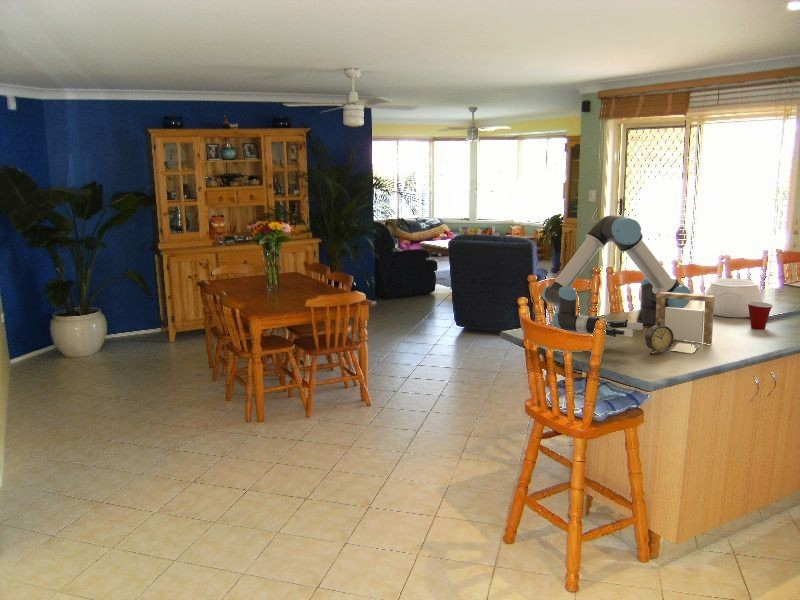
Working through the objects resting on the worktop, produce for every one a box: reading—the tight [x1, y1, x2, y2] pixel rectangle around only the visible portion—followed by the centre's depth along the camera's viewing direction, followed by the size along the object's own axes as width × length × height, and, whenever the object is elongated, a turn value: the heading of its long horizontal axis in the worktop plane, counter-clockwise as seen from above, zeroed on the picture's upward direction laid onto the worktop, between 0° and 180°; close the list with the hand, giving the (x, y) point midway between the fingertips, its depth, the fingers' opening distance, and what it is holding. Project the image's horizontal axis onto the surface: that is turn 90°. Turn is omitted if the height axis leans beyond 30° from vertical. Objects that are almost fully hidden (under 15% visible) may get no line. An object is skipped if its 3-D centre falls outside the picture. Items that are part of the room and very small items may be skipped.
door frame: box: [656, 291, 715, 345], centre depth 298 cm, size 23×4×21 cm, turn 54°
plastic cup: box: [747, 301, 774, 331], centre depth 316 cm, size 11×11×12 cm
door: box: [665, 307, 705, 344], centre depth 299 cm, size 15×2×14 cm, turn 55°
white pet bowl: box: [705, 278, 764, 319], centre depth 347 cm, size 29×26×16 cm
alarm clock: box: [644, 315, 674, 353], centre depth 282 cm, size 11×5×16 cm, turn 105°
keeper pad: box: [689, 342, 702, 349], centre depth 288 cm, size 9×14×1 cm, turn 144°
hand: (637, 330), depth 287 cm, fingers open, 13 cm apart
